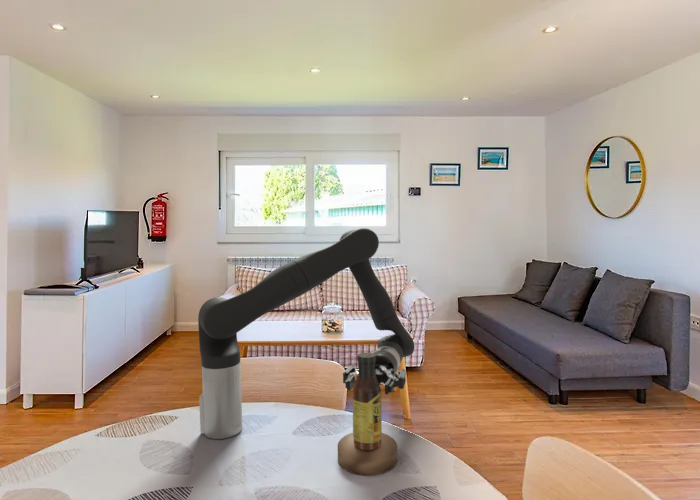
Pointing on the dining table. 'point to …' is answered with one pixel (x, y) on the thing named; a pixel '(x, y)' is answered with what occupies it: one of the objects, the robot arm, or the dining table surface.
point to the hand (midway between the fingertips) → (367, 388)
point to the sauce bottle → (367, 405)
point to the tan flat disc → (367, 456)
